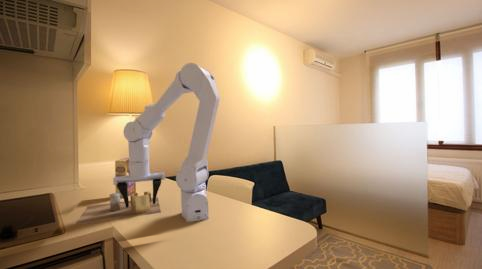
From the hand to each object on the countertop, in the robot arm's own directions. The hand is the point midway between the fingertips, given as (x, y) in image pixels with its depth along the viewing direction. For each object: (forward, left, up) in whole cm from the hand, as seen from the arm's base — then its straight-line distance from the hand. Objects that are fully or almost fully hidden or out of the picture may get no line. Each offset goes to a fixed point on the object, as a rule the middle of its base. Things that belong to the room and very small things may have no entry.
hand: (140, 204), depth 74 cm
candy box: (+21, +5, -3) cm, 22 cm away
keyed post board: (+3, +5, -3) cm, 7 cm away
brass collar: (0, 0, -2) cm, 2 cm away
